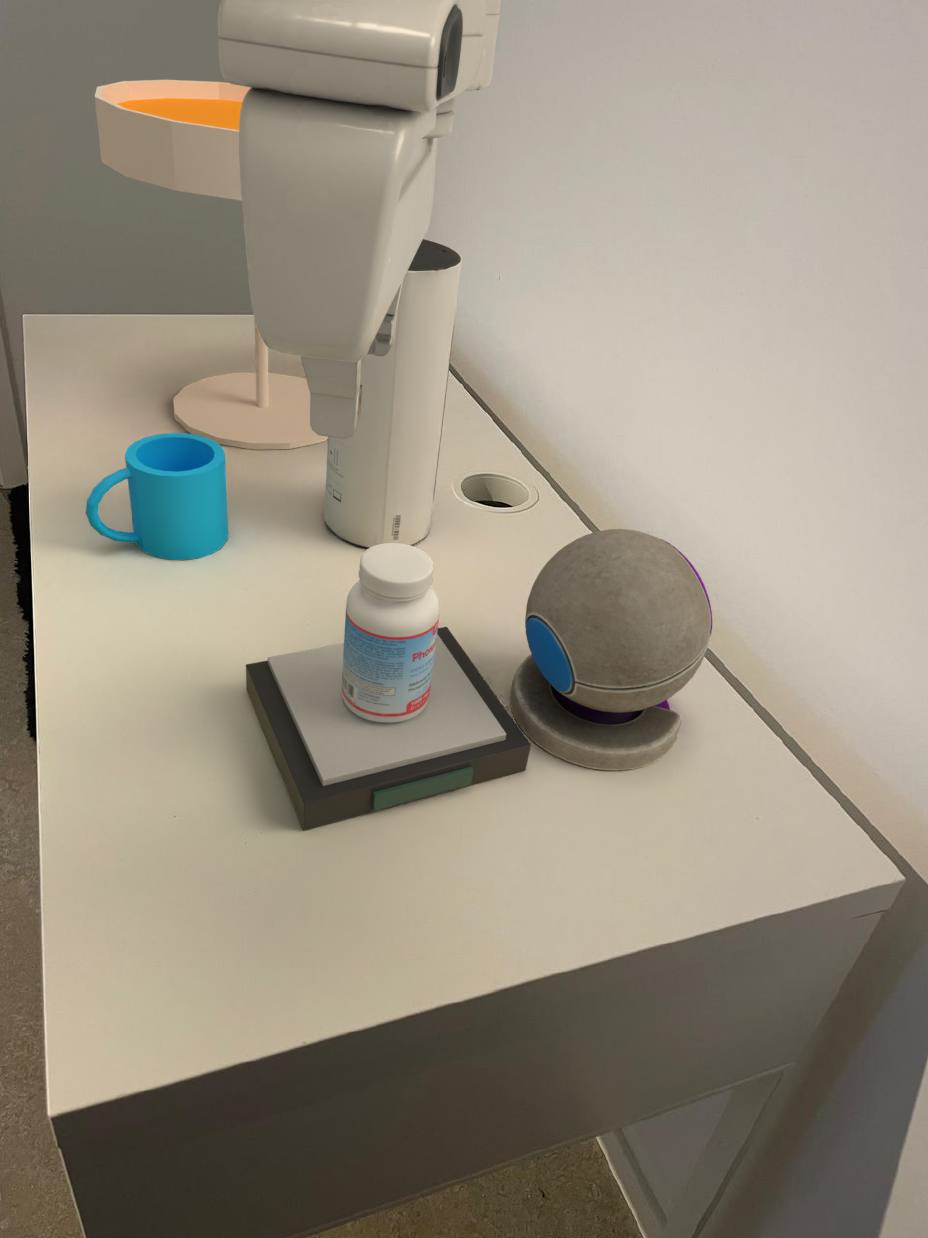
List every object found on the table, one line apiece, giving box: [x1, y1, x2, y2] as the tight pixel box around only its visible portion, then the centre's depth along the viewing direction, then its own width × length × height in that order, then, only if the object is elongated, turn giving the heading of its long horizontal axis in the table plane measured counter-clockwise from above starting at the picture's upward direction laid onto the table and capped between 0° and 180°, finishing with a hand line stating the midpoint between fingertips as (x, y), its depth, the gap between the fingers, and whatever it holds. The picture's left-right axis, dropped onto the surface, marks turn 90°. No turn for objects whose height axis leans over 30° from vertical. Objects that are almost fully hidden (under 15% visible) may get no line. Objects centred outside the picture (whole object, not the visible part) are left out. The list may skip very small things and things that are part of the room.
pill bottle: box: [342, 543, 441, 723], centre depth 59 cm, size 6×6×11 cm
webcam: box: [509, 528, 713, 771], centre depth 65 cm, size 13×13×15 cm
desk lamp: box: [94, 79, 328, 451], centre depth 96 cm, size 30×30×31 cm
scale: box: [245, 626, 532, 831], centre depth 64 cm, size 16×14×3 cm
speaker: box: [324, 238, 463, 549], centre depth 80 cm, size 11×10×26 cm
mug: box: [85, 432, 229, 561], centre depth 78 cm, size 12×8×8 cm
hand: (356, 386), depth 40 cm, fingers open, 8 cm apart
